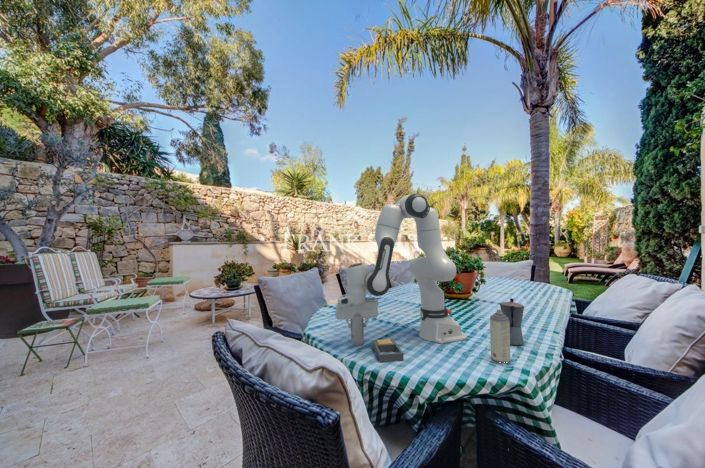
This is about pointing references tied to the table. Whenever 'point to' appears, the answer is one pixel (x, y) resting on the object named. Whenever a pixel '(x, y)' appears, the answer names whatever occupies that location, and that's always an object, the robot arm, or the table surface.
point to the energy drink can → (357, 330)
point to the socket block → (387, 350)
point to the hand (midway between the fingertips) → (357, 327)
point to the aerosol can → (500, 337)
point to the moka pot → (514, 320)
